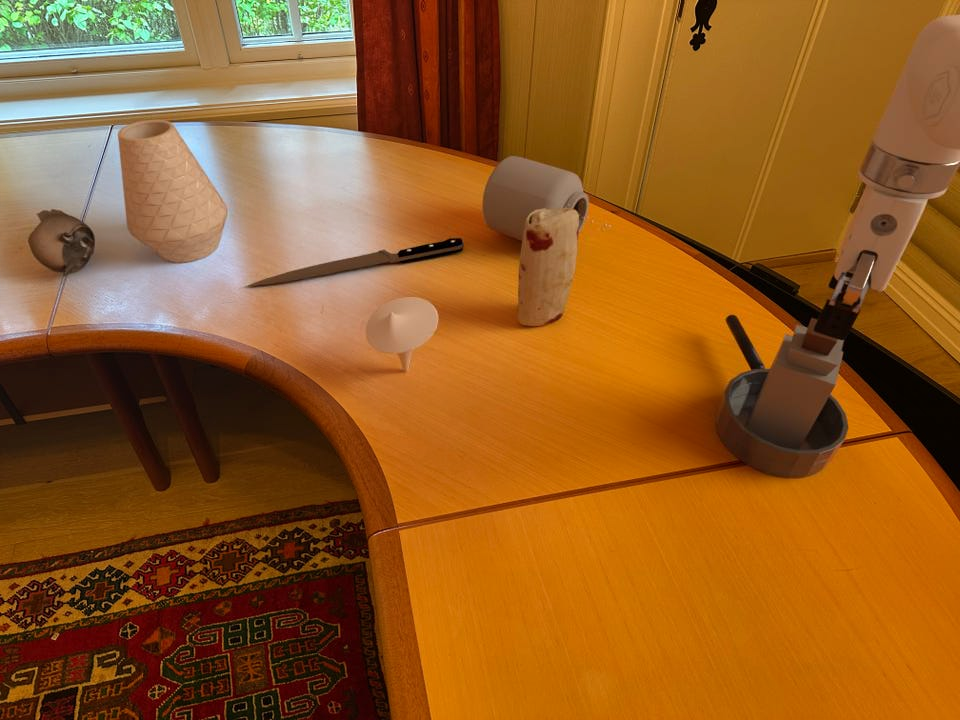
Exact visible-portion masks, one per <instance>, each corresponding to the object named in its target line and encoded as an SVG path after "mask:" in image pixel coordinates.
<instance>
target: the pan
mask: <svg viewBox="0 0 960 720" xmlns="http://www.w3.org/2000/svg"><path fill="white" fill-rule="evenodd" d="M769 370H770V368H765V369H753V370H751V369H750V370H747V371H743V372H740V373H739V374H737V375H735V376H734V377H733V378H731V379H730V380H729V382H728V384H727V385H726V387H725V389H724V392H723V394H722V397H721V399H720V402H719V404H718V407H717V410H716V412H715V418H714V420H715V421H714V424H715V430H716V433H717V435H718V437H719V439H720V441H721V442H722V444H723V446H724V447H725V448H726V449H727V450H728V451H729V452H730V453H731V454H732V455H733V456H734V457H736V458H737V459H738V460H739V461H740V462H741V463H743V464H745V465H747V466H749V467H750V468H752V469H754V470H756V471H759V472H762V473H764V474H767V475H770V476H774V477H777V478H778V477H779V478H785V479H786V478H787V479H801V478H802V479H803V478H808V477H811V476H813V475H817V474H818V473H820V472H822V471H823V470H824V469H825V468H827V466H828V465H829V464H830V463H831V462H832V461H833V459H834V457H835V456H836V454H837V452H838V451H839V450H840V448H841V446H842V444H843V443H844V442H845V440H846V439H847V434H848V430H849V422H848V418H847V414H846V412H845V410H844V409H843V407H842V406H841V404H840V403H839V401H838V400H837V399H836V398H835V397H834V396H833V395H832V393H831V394H830V396H829V397H828V399H827V401H826V403H825V405H824V406H823V408H822V410H821V412H820V413H819V415H818V417H817V419H816V420H815V422H814V424H813V426H812V428H811V429H810V431H809V433H808V435H807V436H806V438H805V440H804V442H803V443H802V445H801V447H800V449H799V450H795V449H790V448H785V447H780V446H778V445H775V444H773V443H771V442H768V441H766V440H764V439H762V438H760V437H759V436H757V435H756V434H754V433H753V432H751V431H750V430H749V429H747V428H746V425H747V422H748V419H749V417H750V414H751V411H752V408H753V406H754V403H755V401H756V399H757V397H758V395H759V392H760V390H761V388H762V386H763V384H764V381H765V379H766V377H767V375H768V372H769Z"/></svg>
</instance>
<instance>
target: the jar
mask: <svg viewBox="0 0 960 720" xmlns="http://www.w3.org/2000/svg"><path fill="white" fill-rule="evenodd" d="M589 206H590V199H589V196H588V193H586V192H584V188H583V184H582V180H581V179H580V177H579V175H578V174H576V173H574V172H572V171H569V170H566V169H562V168H561V167H560V168H559V167H556V166H552V165H549V164H545V163H542V162H539V161H536V160H532V159H528V158H525V157H522V156H516V155H511V156H508V157H506V158H504V159H502V160H501V161H500V162H498V164H497V165H496V166H495V167H494V169H493V170H492V172H491V173H490V175H489V176H488V179H487V181H486V184H485V187H484V190H483V194H482V216H483V219H484V222H485V223H486V225H487V227H488V228H489V229H490V230H492V231H494V232H496V233H499V234H501V235H504V236H507V237H510V238H513V239H516V240H518V241H520V242H522V240H523V233H524V226H525V221H526V218H527V217H528V216H529V215H530V213H532V212H534V211H535V210H539V209H544V208H545V209H546V210H555V209H562V208H571V209H574V210H576V211H577V213H578V215H579V231H578V235H579V234H580V233H581V231H582V229H583V227H584V225H585V222H586V220H588V219H589V218H590V217H589V216H588V212H589ZM600 222H603V220H602V219H601V220H600ZM590 223H591V224H593V223H594V220H592V219H591V220H590ZM603 226H604V227H607V228H611V225H610V224H609V225H608V224H607V223H604V224H603ZM597 231H600V228H598V229H597ZM601 231H602V232H604V231H605V229H604V228H602V230H601Z"/></svg>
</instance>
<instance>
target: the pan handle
mask: <svg viewBox="0 0 960 720" xmlns="http://www.w3.org/2000/svg"><path fill="white" fill-rule="evenodd" d="M725 323H726V325H727V327H728V329H729V331H730V333H731V334H732V336H733V338H734V340H735V342H736V344H737V346H738V348H739V350H740V352H741V353H742V355H743V357H744V360H745V361H746V363H747V365H748V367H749V368H750V370H753V369H766V367H765V365H764V364H765V363H763V361H762V359H761V357H760V356H759V353H758V352H757V350H756V348H755V347H754V345H753V343H752V341H751V339H750V337H749V336H748V334H747V332H746V330H745V328H744V326H743V325H742V323H741V321H740V319H739V318H738V316H737V315H735V314H729V315H728V316H726V318H725Z"/></svg>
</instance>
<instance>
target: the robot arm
mask: <svg viewBox="0 0 960 720" xmlns="http://www.w3.org/2000/svg"><path fill="white" fill-rule="evenodd" d="M959 168H960V14H949V15H944V16H940V17H937V18H935V19H933V20H931V21H930V22H929V23H927V24H926V25H925V26H924V27H923V28H922V29H921V30H920V32H919V34H918V35H917V38H916V40H915V42H914V43H913V46H912V48H911V51H910V52H909V55H908V57H907V60H906V62H905V65H904V67H903V69H902V71H901V73H900V75H899V78H898V81H897V82H896V85H895V87H894V89H893V91H892V94H891V96H890V98H889V101H888V103H887V105H886V107H885V110H884V112H883V114H882V116H881V119H880V120H879V124H878V126H877V128H876V130H875V132H874V134H873V137H872V139H871V142H870V143H869V146H868V148H867V151H866V153H865V155H864V157H863V159H862V161H861V164H860V166H859V168H858V170H857V176H858V178H859V180H860V181H861V182H863V183H864V184H865V188H864V190H863V192H862V194H861V197H860V199H859V200H858V204H857V206H856V207H855V210H854V213H853V215H852V218H851V220H850V223H849V224H848V227H847V231H846V233H845V236H844V238H843V241H842V245H841V247H840V251H839V254H838V257H837V260H836V261H837V262H836V266H835V269H834V272H833V274H832V275H831V276H832V277H831V278H830V280H829V283H828V288H829V289H831V290H833V293H832V295H831V297H830V299H829V298H827V299H826V301H825V303H824V305H823V308H822V310H821V312H820V314H819V315H818V317H817V322H816V324H815V327H814V331H815V332H817V333H820V334H823V335H826V336H829V337H833V338H836V339H839V340H844V341H845V340H846V339H847V337H848V335H849V334H850V332H851V330H852V328H853V326H854V324H855V322H856V320H857V319H858V317H859V315H860V313H861V310H862V309H861V307H862V305H863V303H864V300H865V298H866V297H867V293H868V290H869V289H870V288H871V290H874V291H876V292H877V293H881V292H883V291H885V290H886V288H887V286H888V284H889V283H890V280H891V278H892V276H893V274H894V272H895V270H896V268H897V266H898V264H899V262H900V260H901V258H902V256H903V255H904V252H905V250H906V249H907V246H908V245H909V242H910V240H911V238H912V236H913V235H914V232H915V231H916V229H917V226H918V224H919V222H920V220H921V217H922V216H923V213H924V211H925V208H926V206H927V203H928V201H929V200H932V199H936V198H939V197H942V196H943V195H945V193H946V192H947V190H948V188H949V186H950V184H951V183H952V180H953V179H954V177H955V175H956V173H957V172H958V170H959Z"/></svg>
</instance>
